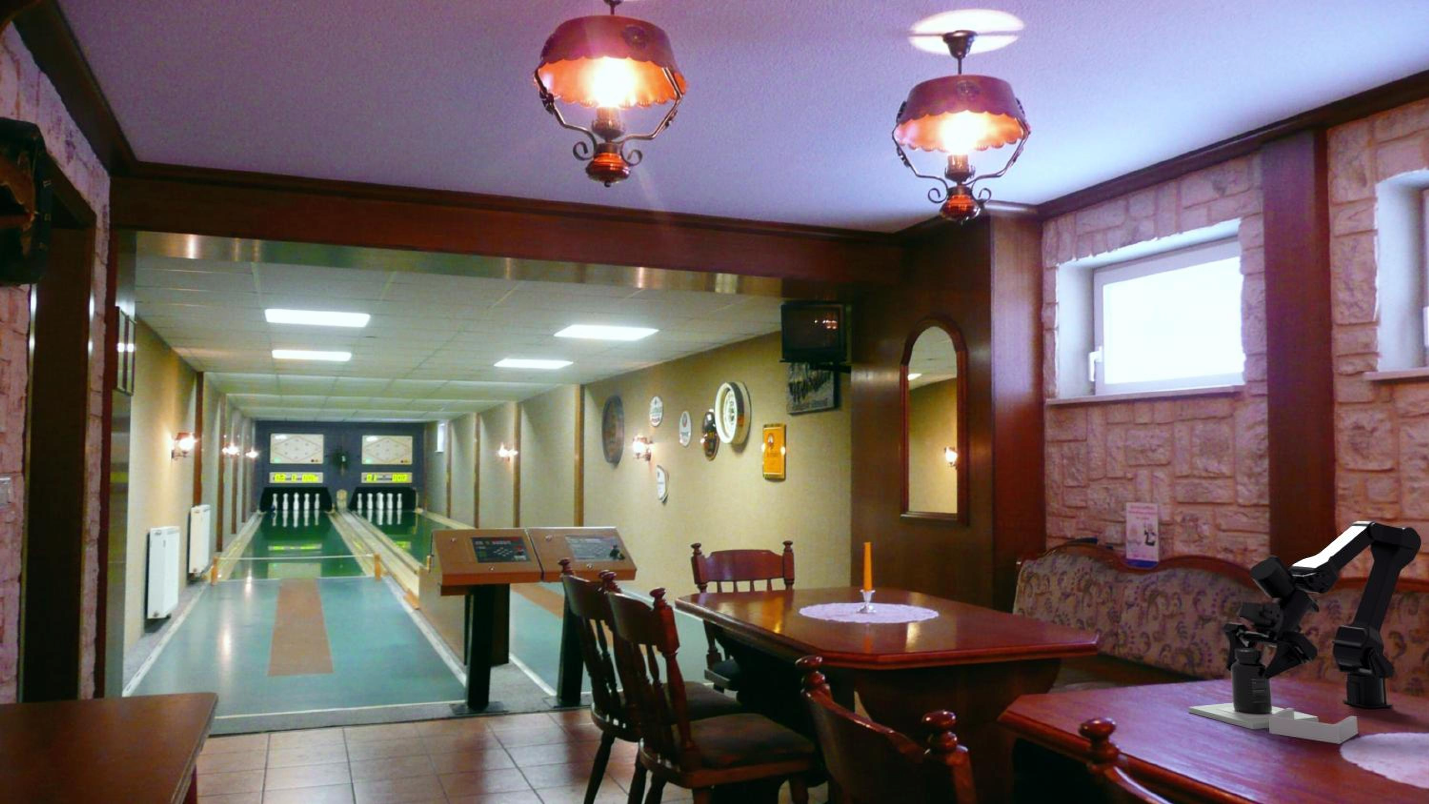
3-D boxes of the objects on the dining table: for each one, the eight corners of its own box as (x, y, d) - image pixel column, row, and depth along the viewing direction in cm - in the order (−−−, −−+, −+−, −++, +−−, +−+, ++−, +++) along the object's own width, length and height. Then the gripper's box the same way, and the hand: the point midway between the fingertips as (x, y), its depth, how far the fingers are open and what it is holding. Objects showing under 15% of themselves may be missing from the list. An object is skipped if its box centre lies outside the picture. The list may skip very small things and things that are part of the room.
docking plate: (1250, 705, 211) (1250, 700, 211) (1318, 722, 196) (1317, 716, 196) (1188, 712, 206) (1188, 706, 206) (1253, 729, 191) (1252, 723, 191)
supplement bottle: (1273, 709, 202) (1269, 648, 203) (1271, 716, 196) (1267, 653, 197) (1234, 706, 206) (1231, 645, 207) (1231, 712, 200) (1228, 650, 201)
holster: (1289, 723, 195) (1288, 707, 195) (1357, 733, 187) (1356, 716, 187) (1269, 733, 188) (1268, 716, 188) (1339, 743, 179) (1338, 726, 180)
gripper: (1225, 582, 213) (1186, 639, 209) (1302, 590, 196) (1260, 653, 191) (1257, 619, 215) (1219, 676, 211) (1336, 630, 198) (1296, 692, 193)
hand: (1246, 673), depth 201 cm, fingers open, 9 cm apart
